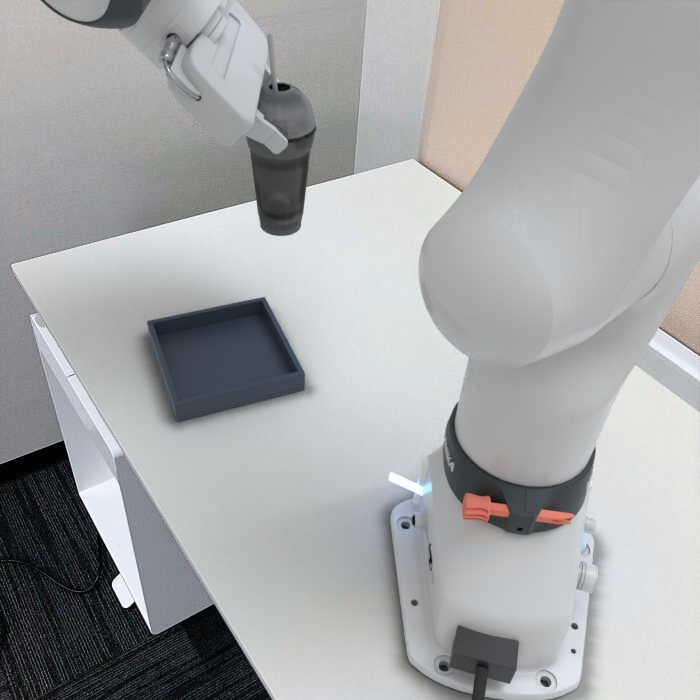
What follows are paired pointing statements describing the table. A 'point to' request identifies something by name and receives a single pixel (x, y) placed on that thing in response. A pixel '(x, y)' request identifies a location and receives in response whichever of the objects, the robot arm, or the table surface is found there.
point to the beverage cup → (282, 155)
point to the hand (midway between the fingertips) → (286, 126)
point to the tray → (224, 358)
